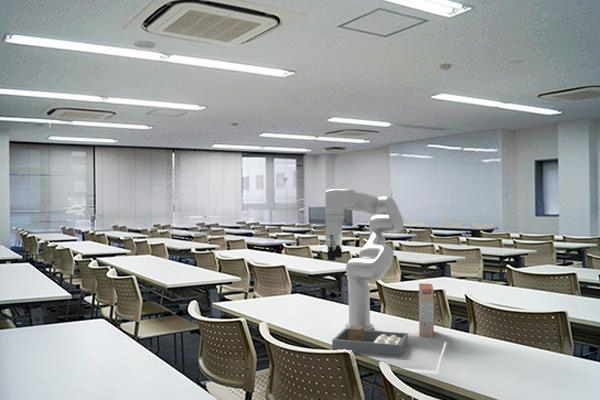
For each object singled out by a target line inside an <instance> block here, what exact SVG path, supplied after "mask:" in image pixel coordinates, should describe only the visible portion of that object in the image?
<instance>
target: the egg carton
mask: <svg viewBox="0 0 600 400" xmlns="http://www.w3.org/2000/svg"><path fill="white" fill-rule="evenodd" d="M400 341H401V338H399V337H397V336H395V335H392V336H391V337H387V336H386V335H384V334H382V335H381V336H378V337H377V339H376V340H375V341H374V343H385V344H396V345H398V344H399V343H400Z"/></svg>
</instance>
